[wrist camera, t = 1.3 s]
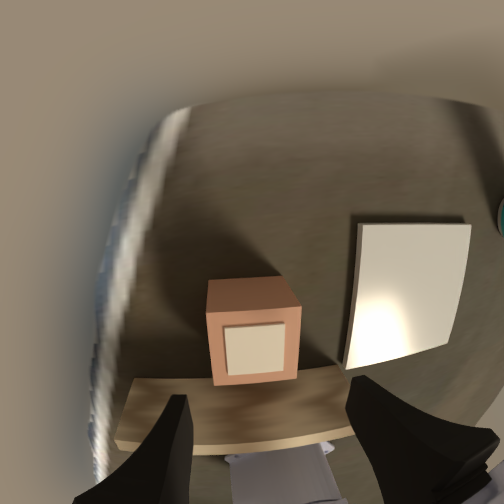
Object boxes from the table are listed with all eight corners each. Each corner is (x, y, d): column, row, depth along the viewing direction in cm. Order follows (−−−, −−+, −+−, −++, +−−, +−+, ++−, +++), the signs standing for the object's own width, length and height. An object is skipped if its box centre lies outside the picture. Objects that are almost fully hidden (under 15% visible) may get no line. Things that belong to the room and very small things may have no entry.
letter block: (282, 275, 20) (302, 307, 15) (280, 337, 21) (297, 380, 16) (208, 279, 19) (205, 314, 14) (214, 342, 20) (214, 387, 16)
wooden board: (337, 364, 22) (371, 420, 16) (335, 375, 23) (367, 430, 16) (134, 377, 21) (113, 439, 14) (137, 388, 21) (119, 449, 14)
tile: (465, 223, 20) (471, 224, 20) (442, 339, 24) (447, 343, 23) (357, 223, 19) (362, 225, 18) (342, 364, 22) (345, 369, 22)
